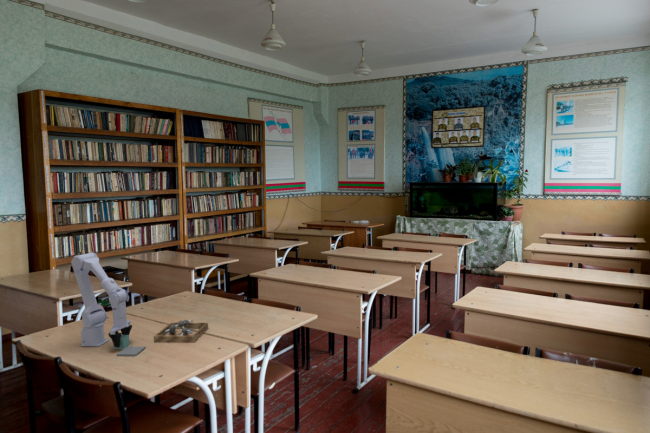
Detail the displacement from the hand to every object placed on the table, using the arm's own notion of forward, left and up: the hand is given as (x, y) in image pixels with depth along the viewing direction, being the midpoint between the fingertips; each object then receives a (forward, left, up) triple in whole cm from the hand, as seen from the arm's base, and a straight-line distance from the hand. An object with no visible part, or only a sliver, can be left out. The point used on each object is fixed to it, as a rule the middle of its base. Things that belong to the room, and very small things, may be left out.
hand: (121, 343), depth 206 cm
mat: (+8, -6, -1) cm, 10 cm away
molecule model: (+21, +18, -2) cm, 28 cm away
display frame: (+23, +16, -1) cm, 28 cm away
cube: (0, 0, -2) cm, 2 cm away
